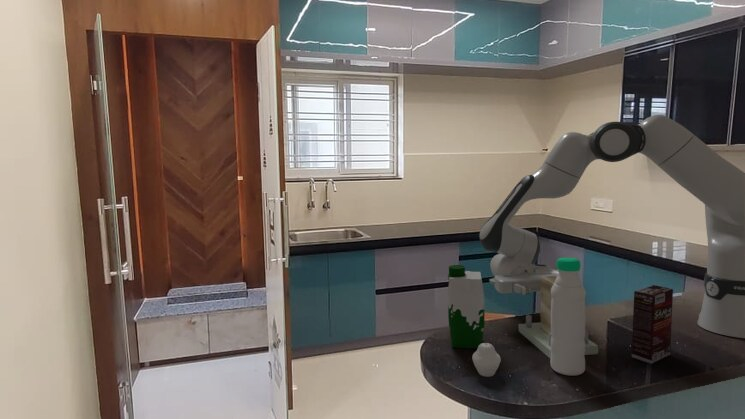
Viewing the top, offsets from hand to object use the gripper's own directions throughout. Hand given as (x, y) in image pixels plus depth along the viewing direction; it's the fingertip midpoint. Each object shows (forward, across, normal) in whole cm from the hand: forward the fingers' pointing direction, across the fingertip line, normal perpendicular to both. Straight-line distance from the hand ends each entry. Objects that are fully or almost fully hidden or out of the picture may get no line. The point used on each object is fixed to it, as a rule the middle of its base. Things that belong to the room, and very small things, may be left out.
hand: (543, 290), depth 120 cm
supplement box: (+18, +17, +12) cm, 28 cm away
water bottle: (+20, -5, +12) cm, 24 cm away
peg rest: (+6, 0, +12) cm, 13 cm away
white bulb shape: (+19, -23, +12) cm, 32 cm away
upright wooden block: (+6, 0, +10) cm, 11 cm away
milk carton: (+2, -22, +12) cm, 25 cm away
